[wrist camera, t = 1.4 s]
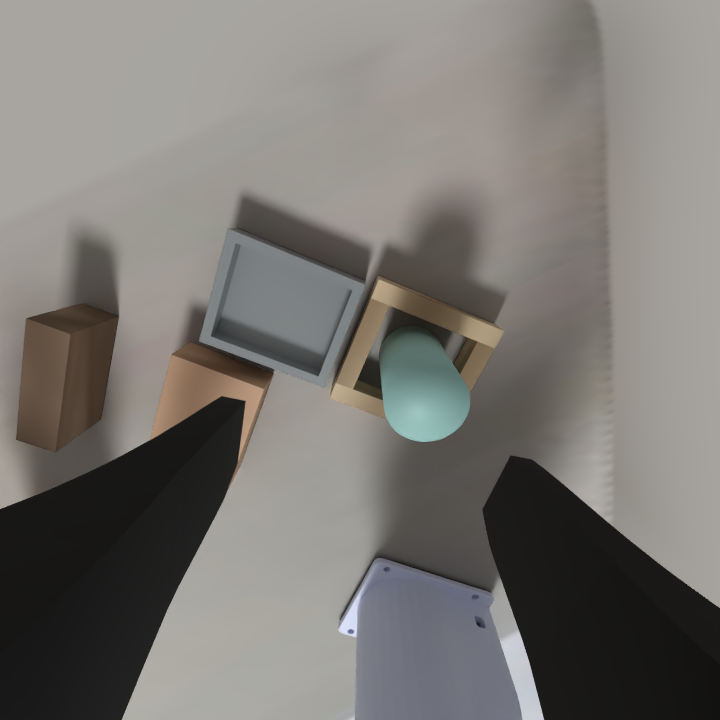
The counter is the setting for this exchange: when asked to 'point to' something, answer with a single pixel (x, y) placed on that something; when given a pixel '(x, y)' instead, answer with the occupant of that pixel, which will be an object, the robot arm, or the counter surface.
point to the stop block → (64, 374)
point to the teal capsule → (421, 386)
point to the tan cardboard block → (209, 389)
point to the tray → (279, 307)
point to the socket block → (392, 294)
